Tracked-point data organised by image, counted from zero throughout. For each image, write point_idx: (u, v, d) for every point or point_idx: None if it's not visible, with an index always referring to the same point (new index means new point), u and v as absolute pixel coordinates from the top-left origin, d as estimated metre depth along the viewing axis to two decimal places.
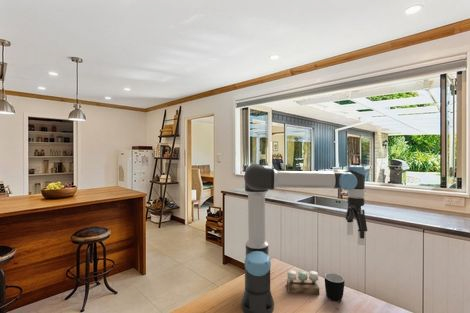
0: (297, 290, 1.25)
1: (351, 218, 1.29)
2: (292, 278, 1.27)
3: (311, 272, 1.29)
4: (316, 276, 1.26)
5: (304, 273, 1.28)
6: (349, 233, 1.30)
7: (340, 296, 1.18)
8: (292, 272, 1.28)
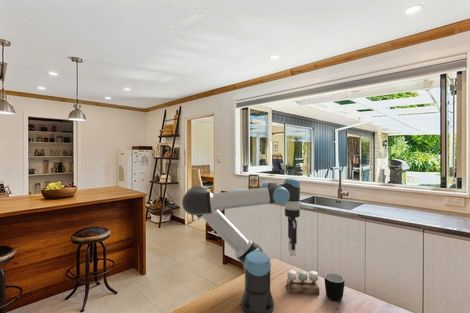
0: (297, 290, 1.25)
1: None
2: (292, 278, 1.27)
3: (311, 272, 1.29)
4: (316, 276, 1.26)
5: (304, 273, 1.28)
6: (290, 249, 1.31)
7: (340, 296, 1.18)
8: (292, 272, 1.28)
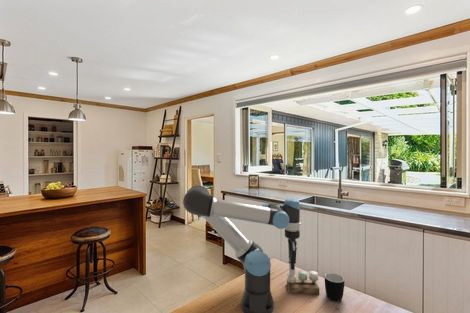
0: (297, 290, 1.25)
1: None
2: (292, 281, 1.27)
3: (311, 272, 1.29)
4: (316, 276, 1.26)
5: (304, 273, 1.28)
6: None
7: (340, 296, 1.18)
8: (292, 275, 1.28)
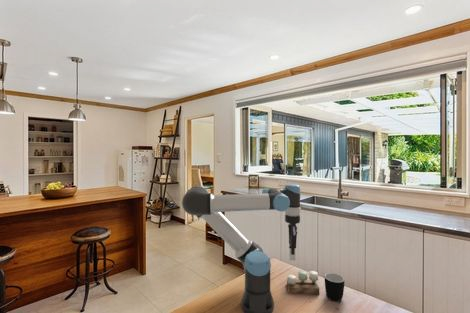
0: (297, 290, 1.25)
1: None
2: (292, 283, 1.27)
3: (311, 272, 1.29)
4: (316, 276, 1.26)
5: (304, 273, 1.28)
6: None
7: (340, 296, 1.18)
8: (292, 277, 1.28)
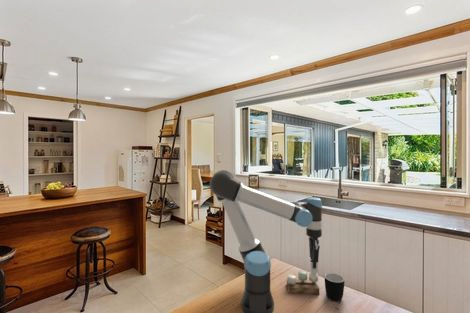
0: (297, 290, 1.25)
1: None
2: (292, 283, 1.27)
3: None
4: (316, 277, 1.26)
5: (304, 273, 1.28)
6: None
7: (340, 296, 1.18)
8: (292, 277, 1.28)
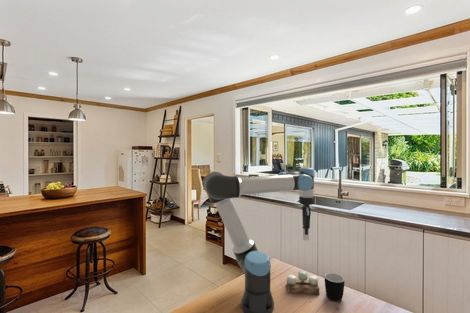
0: (297, 290, 1.25)
1: None
2: (292, 283, 1.27)
3: (311, 277, 1.29)
4: (316, 281, 1.26)
5: (304, 273, 1.28)
6: None
7: (340, 296, 1.18)
8: (292, 277, 1.28)
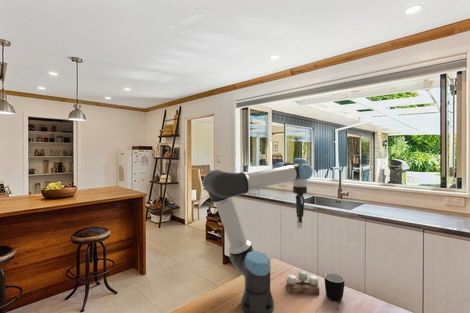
0: (297, 290, 1.25)
1: None
2: (292, 283, 1.27)
3: (311, 277, 1.29)
4: (316, 281, 1.26)
5: (304, 273, 1.28)
6: None
7: (340, 296, 1.18)
8: (292, 277, 1.28)
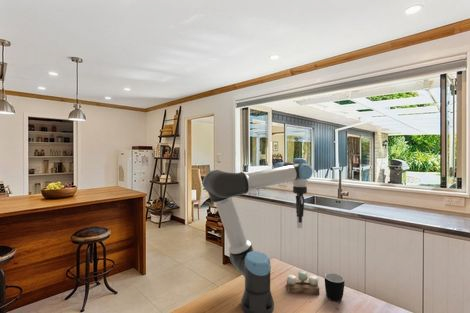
0: (297, 290, 1.25)
1: None
2: (292, 283, 1.27)
3: (311, 277, 1.29)
4: (316, 281, 1.26)
5: (304, 273, 1.28)
6: None
7: (340, 296, 1.18)
8: (292, 277, 1.28)
